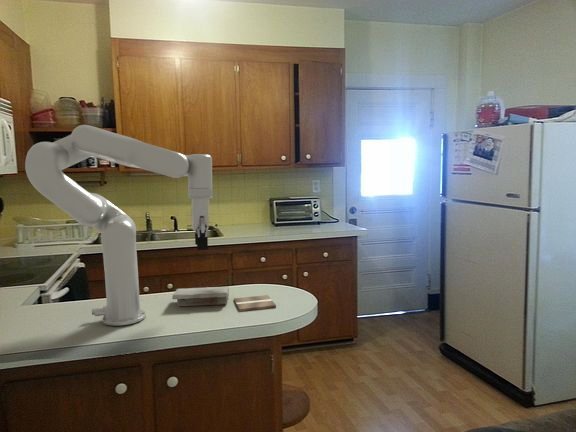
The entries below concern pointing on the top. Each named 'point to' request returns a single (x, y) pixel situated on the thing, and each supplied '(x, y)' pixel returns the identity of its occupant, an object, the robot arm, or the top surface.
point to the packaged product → (201, 296)
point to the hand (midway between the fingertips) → (201, 247)
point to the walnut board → (254, 303)
